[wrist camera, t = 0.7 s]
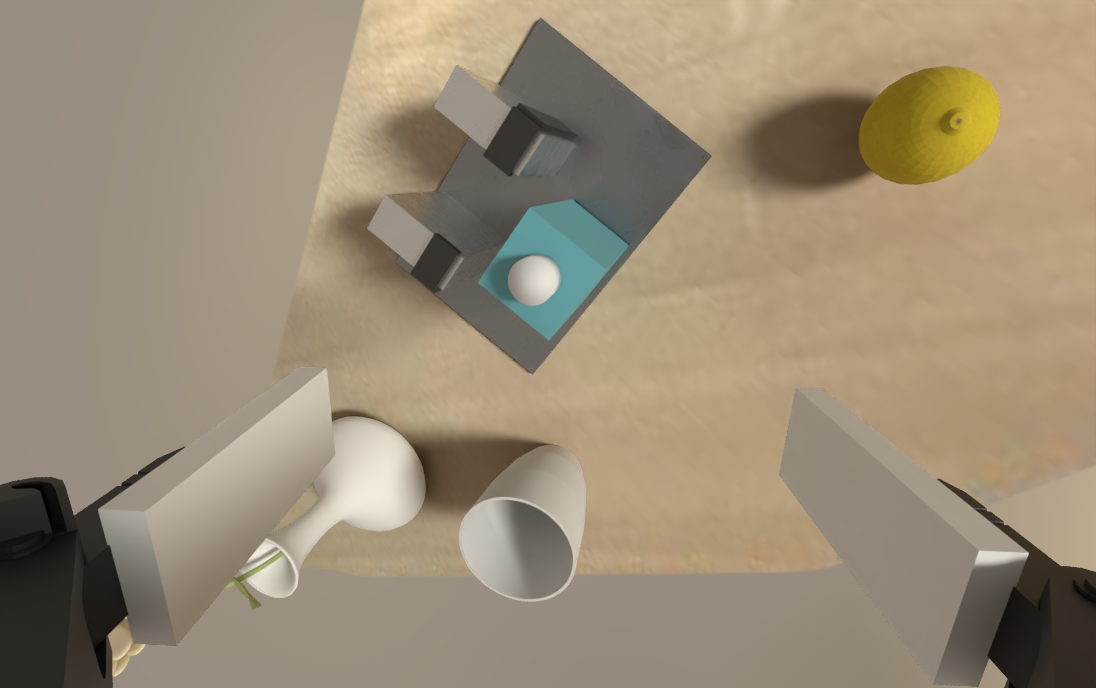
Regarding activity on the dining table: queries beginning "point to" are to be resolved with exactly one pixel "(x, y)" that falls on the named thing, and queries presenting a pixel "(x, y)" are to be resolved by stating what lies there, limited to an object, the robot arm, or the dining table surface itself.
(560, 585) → the cup
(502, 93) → the steel clamp
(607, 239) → the teal post
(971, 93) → the lemon
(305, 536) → the flower in vase
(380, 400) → the dining table surface
